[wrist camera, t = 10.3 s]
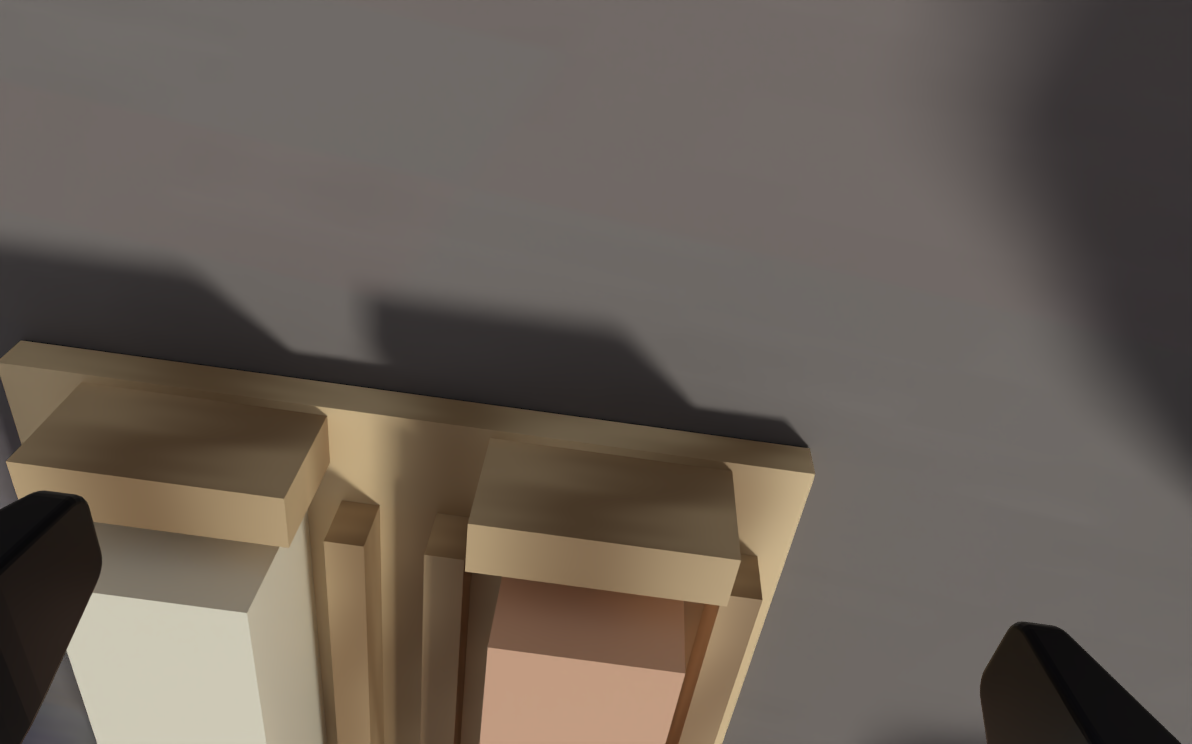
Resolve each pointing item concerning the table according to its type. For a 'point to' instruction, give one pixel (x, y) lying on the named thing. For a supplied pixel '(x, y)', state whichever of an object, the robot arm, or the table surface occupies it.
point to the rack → (421, 517)
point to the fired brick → (581, 666)
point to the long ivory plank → (200, 641)
